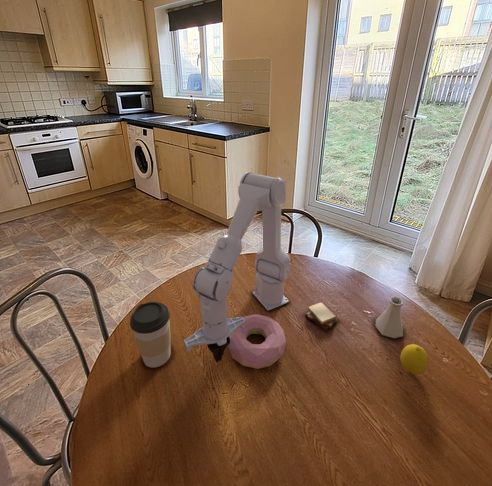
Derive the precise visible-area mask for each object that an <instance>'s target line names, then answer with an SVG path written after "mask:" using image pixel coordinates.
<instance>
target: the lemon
mask: <svg viewBox="0 0 492 486" xmlns="http://www.w3.org/2000/svg"><path fill="white" fill-rule="evenodd" d="M400 363H401V366H402V368H403V370H405V371H406V372H408V373H409V374H411V375H415V376H416V375H417V376H418V375H422V374H423V373H425V372H426V371H427V369H428V366H429V356H428V353H427V351H426V350H425V349H424V348H423V347H422V346H420V345H418V344H414V343H412V344H407V345H406V346H405V347H404V348H403V349H402V350H401V353H400Z"/></svg>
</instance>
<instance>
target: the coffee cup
mask: <svg viewBox="0 0 492 486" xmlns="http://www.w3.org/2000/svg"><path fill="white" fill-rule="evenodd" d="M170 317H171V313H170V311H169V308H168V307H167V306H166V305H165V304H164V303H161V302H158V301H149V302H145V303H141V304H139V305H137V307H135V310H134V311H133V313H132V314H131V316H130V319H129V325H130V328H131V330H132V333H133V337H134V340H135V342H136V345H137V348H138V351H139V353H140V354H141V358H142V361H143V363H144V365H145V367H148V368H152V369H153V368H158V367H161V366H163V365H165V364H166V363H167V362H168V360H169V359H170V357H171V354H172V351H171V350H172V349H171V348H172V347H171V342H172V337H171V320H170Z"/></svg>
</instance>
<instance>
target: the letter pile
mask: <svg viewBox="0 0 492 486" xmlns="http://www.w3.org/2000/svg"><path fill="white" fill-rule="evenodd" d="M307 310H308V312H306V313H305V317H306V318H307V319H309V320H311V321H312V322H313V323H314V324H316V325H317V326H319V327H320V328H322V330H324V331H328V330H329V329H332V326H333V325H335V324H336V323H337V322H338V319H337V314H336V313H333V312H332V311H331V310H330V309H329V308H328V307H327V306H326V305H325V304H324V303H323V302H322V301H321V302H318V303H315V304H312V305H309V306H308V307H307Z"/></svg>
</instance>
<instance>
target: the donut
mask: <svg viewBox="0 0 492 486" xmlns="http://www.w3.org/2000/svg"><path fill="white" fill-rule="evenodd" d="M242 318H243V319H244V320H245V327H244V328H240V327H239V328H237V329H236V330H235V331H234V332H233V333H232V334H231V335H229V337H230V344H229V345H228V346H227V349H228V351H229V353H230V356H231V358H232V359H233V360H235V361H236V362H238V364H240V365H242V366H243V367H247V368H251V369H252V368H253V369H256V370H258V369H264V368H268V367H271V366H272V365H273V364H274V363H276V362H277V361H278V360H280V359H281V358H282V357H283V356H284V354H285V351H286V345H287V340H286V336H285V331H284V329H283V328H282V326H281V325H280V324H279V322H277V321H276V320H275V319H272V318H271V317H270V316H265V315H261V314H257V313H256V314H254V313H253V314H250V315H245V316H242ZM250 335H261V336H262V337H264V338H265V340H264V341H263V342H262V343H260V344H259V343H252V342H250V341H249V340H248V339H247V338H248V337H249V336H250Z"/></svg>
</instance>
